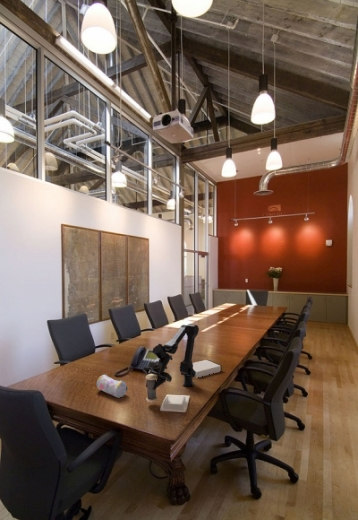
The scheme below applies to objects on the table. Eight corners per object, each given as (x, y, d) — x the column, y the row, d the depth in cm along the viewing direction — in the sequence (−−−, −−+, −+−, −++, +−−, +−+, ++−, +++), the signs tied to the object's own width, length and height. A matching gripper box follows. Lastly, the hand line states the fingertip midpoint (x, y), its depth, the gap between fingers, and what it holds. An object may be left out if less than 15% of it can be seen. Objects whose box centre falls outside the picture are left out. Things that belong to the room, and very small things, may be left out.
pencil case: (128, 395, 167) (128, 379, 168) (117, 400, 160) (117, 384, 161) (106, 387, 180) (106, 372, 180) (95, 391, 173) (95, 376, 173)
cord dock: (166, 396, 164) (166, 390, 165) (189, 397, 162) (189, 391, 162) (160, 410, 148) (160, 403, 148) (185, 412, 145) (185, 405, 146)
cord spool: (148, 396, 158) (147, 373, 158) (158, 397, 157) (158, 374, 157) (144, 401, 151) (144, 378, 152) (156, 402, 150) (155, 378, 151)
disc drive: (221, 372, 204) (221, 365, 204) (197, 378, 192) (197, 371, 192) (207, 365, 219) (207, 359, 219) (183, 371, 207) (183, 364, 207)
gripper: (144, 352, 164) (131, 377, 155) (168, 358, 152) (154, 385, 143) (154, 362, 170) (141, 386, 161) (177, 368, 158) (164, 395, 149)
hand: (150, 388), depth 153 cm, fingers closed on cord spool, 5 cm apart
